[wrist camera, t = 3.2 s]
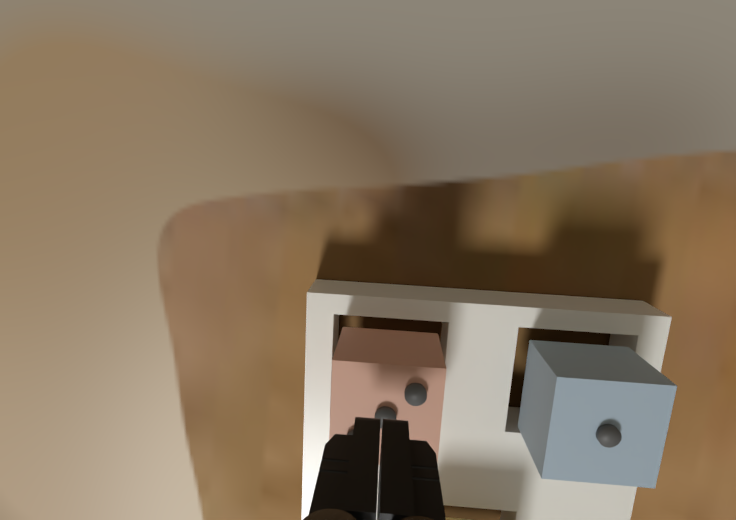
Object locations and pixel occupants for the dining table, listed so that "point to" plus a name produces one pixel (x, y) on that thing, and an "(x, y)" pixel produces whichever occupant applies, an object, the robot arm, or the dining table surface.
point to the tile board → (478, 387)
